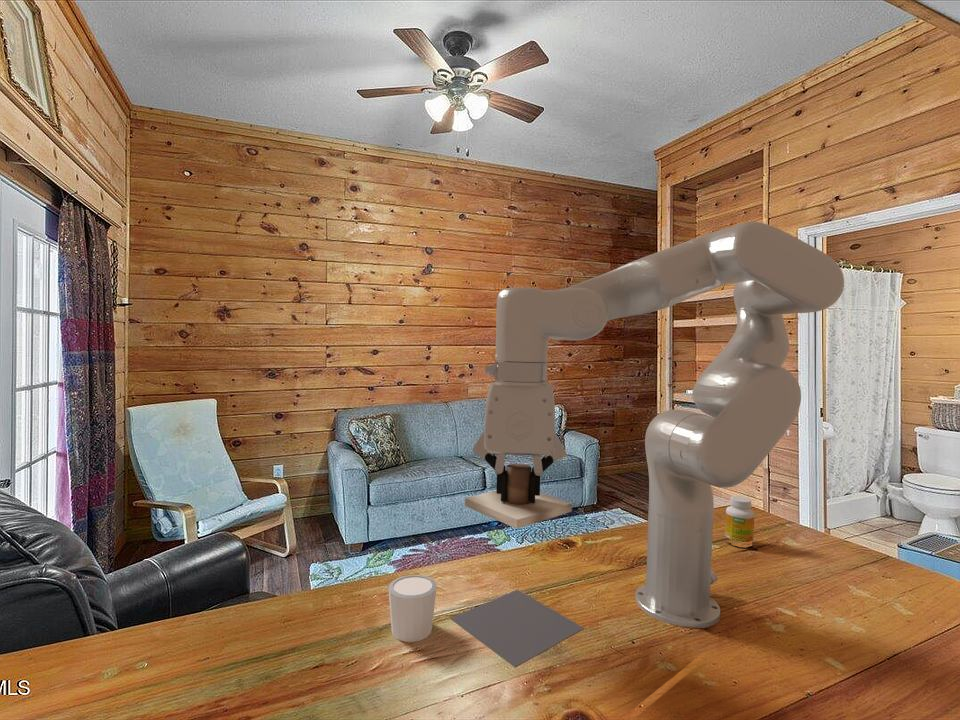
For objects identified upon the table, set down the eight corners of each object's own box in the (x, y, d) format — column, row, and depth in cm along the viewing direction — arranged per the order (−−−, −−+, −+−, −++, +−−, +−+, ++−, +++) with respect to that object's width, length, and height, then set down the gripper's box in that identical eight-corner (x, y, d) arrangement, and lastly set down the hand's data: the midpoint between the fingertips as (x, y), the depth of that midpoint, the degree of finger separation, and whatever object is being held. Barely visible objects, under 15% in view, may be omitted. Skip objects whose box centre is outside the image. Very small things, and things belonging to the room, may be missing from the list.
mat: (517, 592, 83) (517, 589, 83) (584, 631, 72) (584, 628, 72) (449, 621, 74) (449, 618, 74) (514, 670, 63) (515, 666, 63)
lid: (518, 492, 80) (519, 454, 80) (571, 511, 72) (572, 469, 71) (464, 506, 73) (465, 464, 73) (516, 528, 65) (518, 481, 64)
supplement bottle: (729, 547, 103) (731, 501, 103) (721, 537, 109) (723, 493, 108) (757, 550, 102) (759, 503, 102) (747, 539, 108) (749, 495, 107)
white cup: (427, 651, 67) (428, 600, 67) (379, 644, 68) (380, 594, 68) (441, 623, 74) (442, 577, 73) (397, 617, 75) (398, 571, 75)
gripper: (460, 374, 69) (458, 505, 69) (582, 377, 67) (578, 511, 68) (467, 371, 76) (464, 489, 77) (576, 374, 75) (572, 494, 75)
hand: (518, 498), depth 72 cm, fingers closed on lid, 3 cm apart
